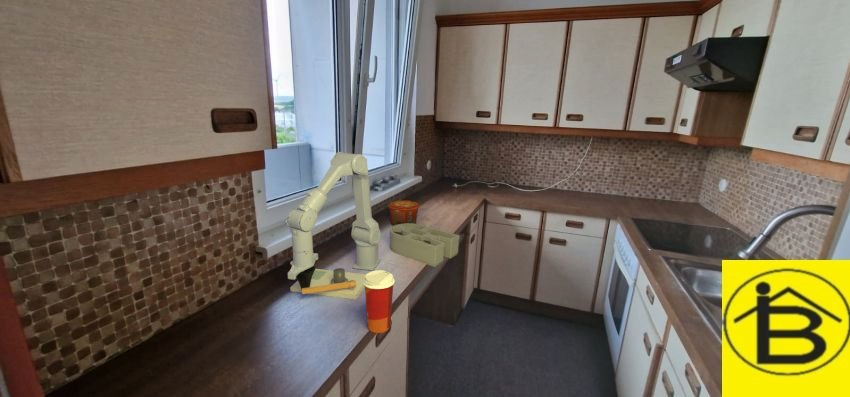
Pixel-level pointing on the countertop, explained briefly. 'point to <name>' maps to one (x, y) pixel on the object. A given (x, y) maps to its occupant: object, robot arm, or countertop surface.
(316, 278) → the board
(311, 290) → the tan wooden rod
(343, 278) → the plug
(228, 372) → the countertop surface
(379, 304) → the coffee cup
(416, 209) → the food container
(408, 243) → the green compartment tray
